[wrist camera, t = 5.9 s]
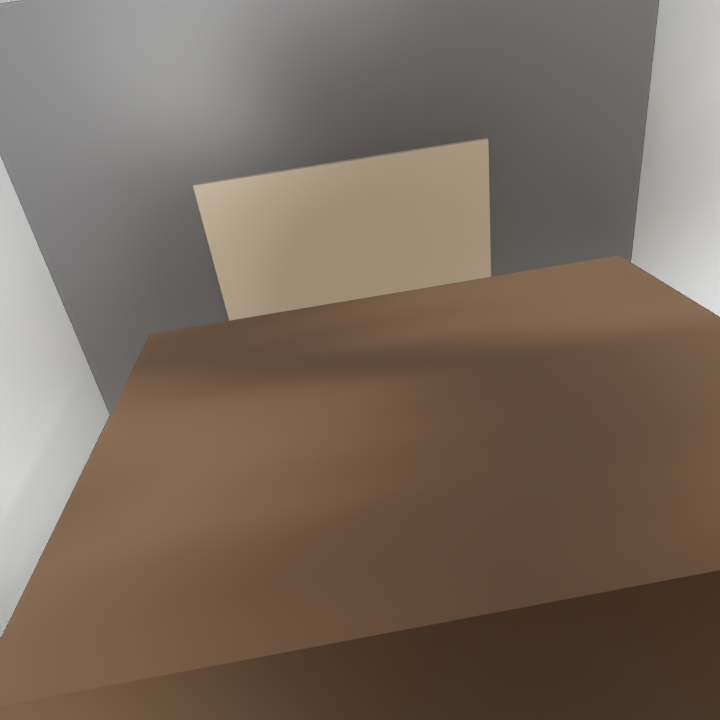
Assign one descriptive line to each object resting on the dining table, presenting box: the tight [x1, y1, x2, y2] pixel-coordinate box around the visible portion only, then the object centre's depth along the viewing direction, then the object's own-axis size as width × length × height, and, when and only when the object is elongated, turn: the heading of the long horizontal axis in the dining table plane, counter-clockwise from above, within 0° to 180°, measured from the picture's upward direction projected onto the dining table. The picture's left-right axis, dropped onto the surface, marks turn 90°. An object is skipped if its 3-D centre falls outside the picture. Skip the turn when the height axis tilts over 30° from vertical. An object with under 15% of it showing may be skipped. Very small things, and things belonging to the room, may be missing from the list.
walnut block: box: [0, 255, 720, 720], centre depth 7 cm, size 6×6×5 cm
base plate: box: [0, 0, 659, 414], centre depth 17 cm, size 16×16×2 cm
